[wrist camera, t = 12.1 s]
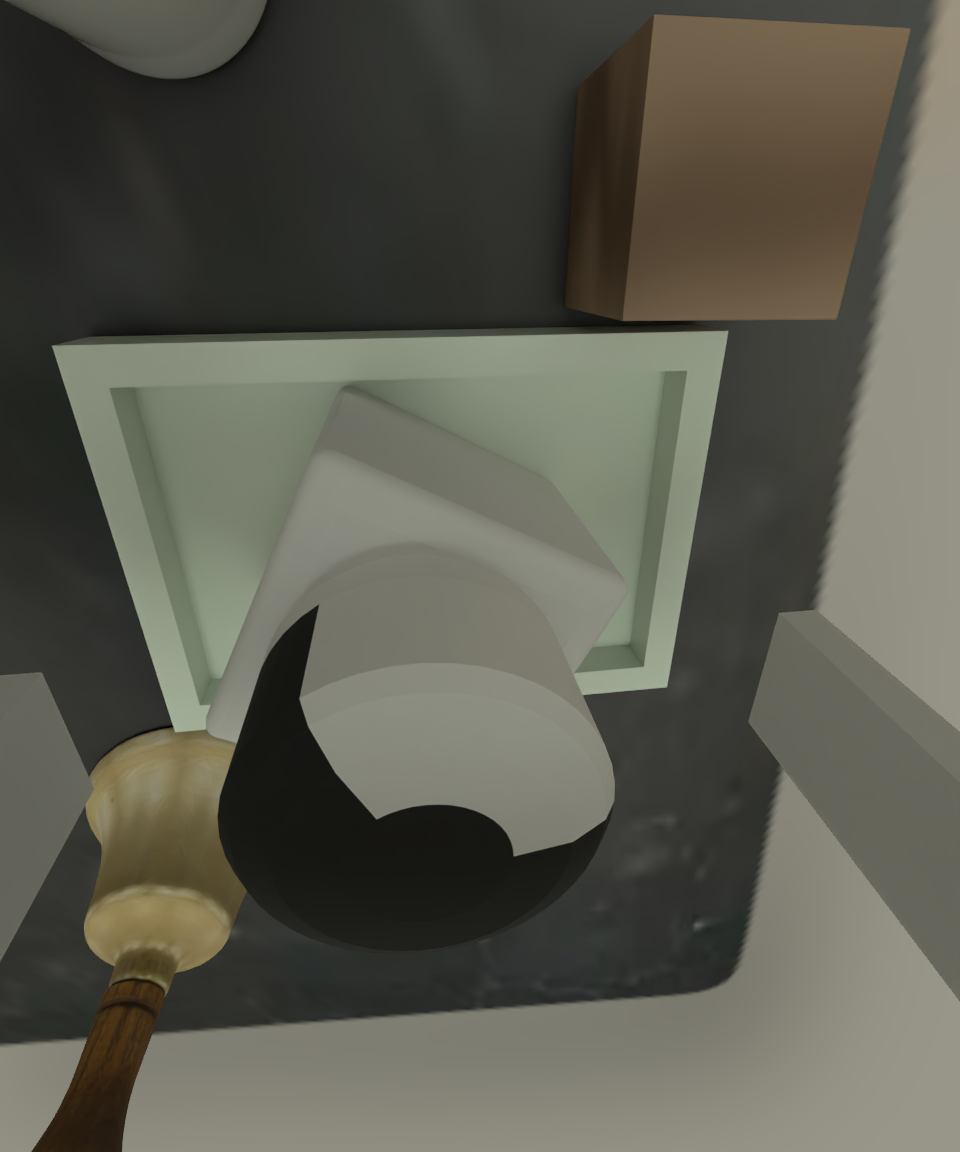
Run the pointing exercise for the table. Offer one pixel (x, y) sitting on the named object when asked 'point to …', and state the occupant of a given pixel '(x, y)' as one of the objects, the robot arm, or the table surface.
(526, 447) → the tray
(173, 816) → the hand bell
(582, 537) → the medicine bottle
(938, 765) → the robot arm
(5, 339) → the table surface
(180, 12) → the drinking glass
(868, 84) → the walnut block
